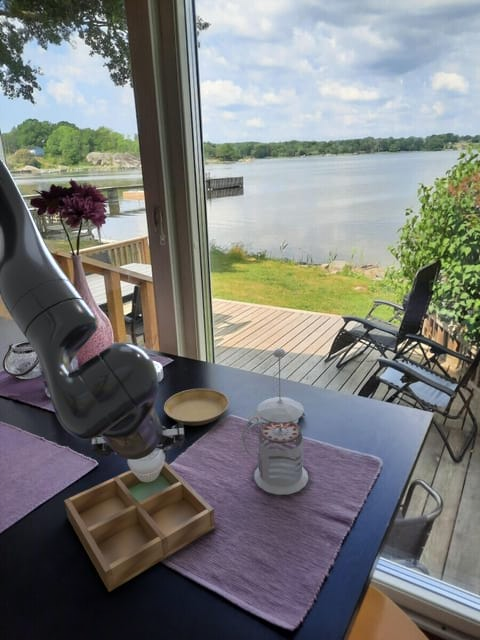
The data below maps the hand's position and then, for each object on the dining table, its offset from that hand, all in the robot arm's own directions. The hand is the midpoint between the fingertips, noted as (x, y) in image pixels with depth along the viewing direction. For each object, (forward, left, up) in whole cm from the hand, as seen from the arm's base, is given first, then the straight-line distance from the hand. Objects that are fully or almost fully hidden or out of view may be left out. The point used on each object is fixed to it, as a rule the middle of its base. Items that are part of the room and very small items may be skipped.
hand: (146, 448), depth 75 cm
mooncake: (+18, +42, -9) cm, 46 cm away
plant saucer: (+20, +17, -9) cm, 27 cm away
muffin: (-1, -1, -4) cm, 5 cm away
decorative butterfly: (+33, +2, -9) cm, 34 cm away
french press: (+19, -11, -9) cm, 24 cm away
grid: (-5, -5, -9) cm, 11 cm away
